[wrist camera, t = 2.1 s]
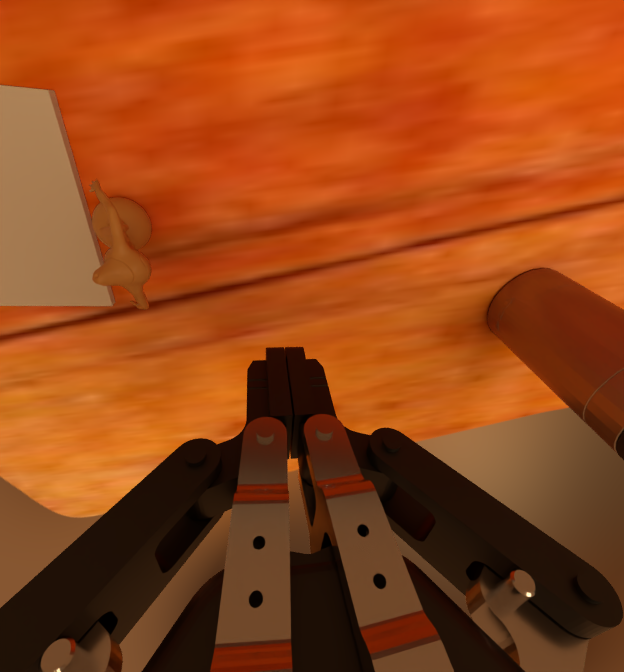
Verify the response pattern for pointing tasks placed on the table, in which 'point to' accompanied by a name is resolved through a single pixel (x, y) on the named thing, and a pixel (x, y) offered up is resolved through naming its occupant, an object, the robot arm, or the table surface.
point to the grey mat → (43, 209)
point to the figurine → (122, 244)
